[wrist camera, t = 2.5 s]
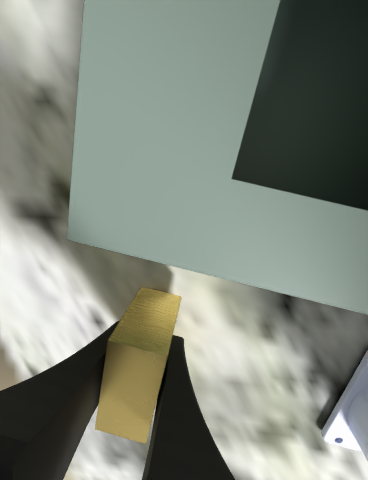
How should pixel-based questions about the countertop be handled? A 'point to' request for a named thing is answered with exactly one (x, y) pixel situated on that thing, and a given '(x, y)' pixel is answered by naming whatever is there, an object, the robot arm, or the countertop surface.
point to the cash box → (228, 140)
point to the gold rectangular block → (136, 365)
